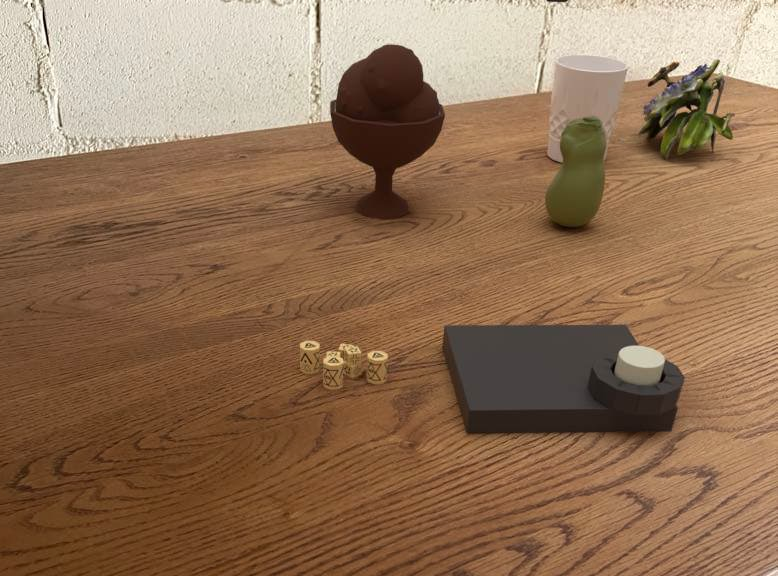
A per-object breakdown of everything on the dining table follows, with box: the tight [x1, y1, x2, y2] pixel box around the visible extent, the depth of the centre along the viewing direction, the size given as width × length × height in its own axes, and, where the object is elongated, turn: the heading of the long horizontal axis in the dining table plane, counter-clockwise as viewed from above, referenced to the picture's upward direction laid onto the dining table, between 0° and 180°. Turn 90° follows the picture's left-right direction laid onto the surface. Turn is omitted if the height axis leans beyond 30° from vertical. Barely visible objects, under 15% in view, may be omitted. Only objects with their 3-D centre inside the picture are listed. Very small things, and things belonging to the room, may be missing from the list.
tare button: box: [614, 345, 666, 386], centre depth 61 cm, size 3×3×2 cm
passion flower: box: [638, 59, 736, 161], centre depth 109 cm, size 11×11×12 cm
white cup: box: [546, 53, 629, 164], centre depth 104 cm, size 8×8×10 cm
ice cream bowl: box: [329, 43, 446, 220], centre depth 88 cm, size 11×11×15 cm
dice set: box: [299, 340, 389, 391], centre depth 66 cm, size 5×5×2 cm
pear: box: [544, 117, 606, 228], centre depth 88 cm, size 6×5×10 cm
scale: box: [442, 324, 686, 435], centre depth 65 cm, size 14×13×4 cm
